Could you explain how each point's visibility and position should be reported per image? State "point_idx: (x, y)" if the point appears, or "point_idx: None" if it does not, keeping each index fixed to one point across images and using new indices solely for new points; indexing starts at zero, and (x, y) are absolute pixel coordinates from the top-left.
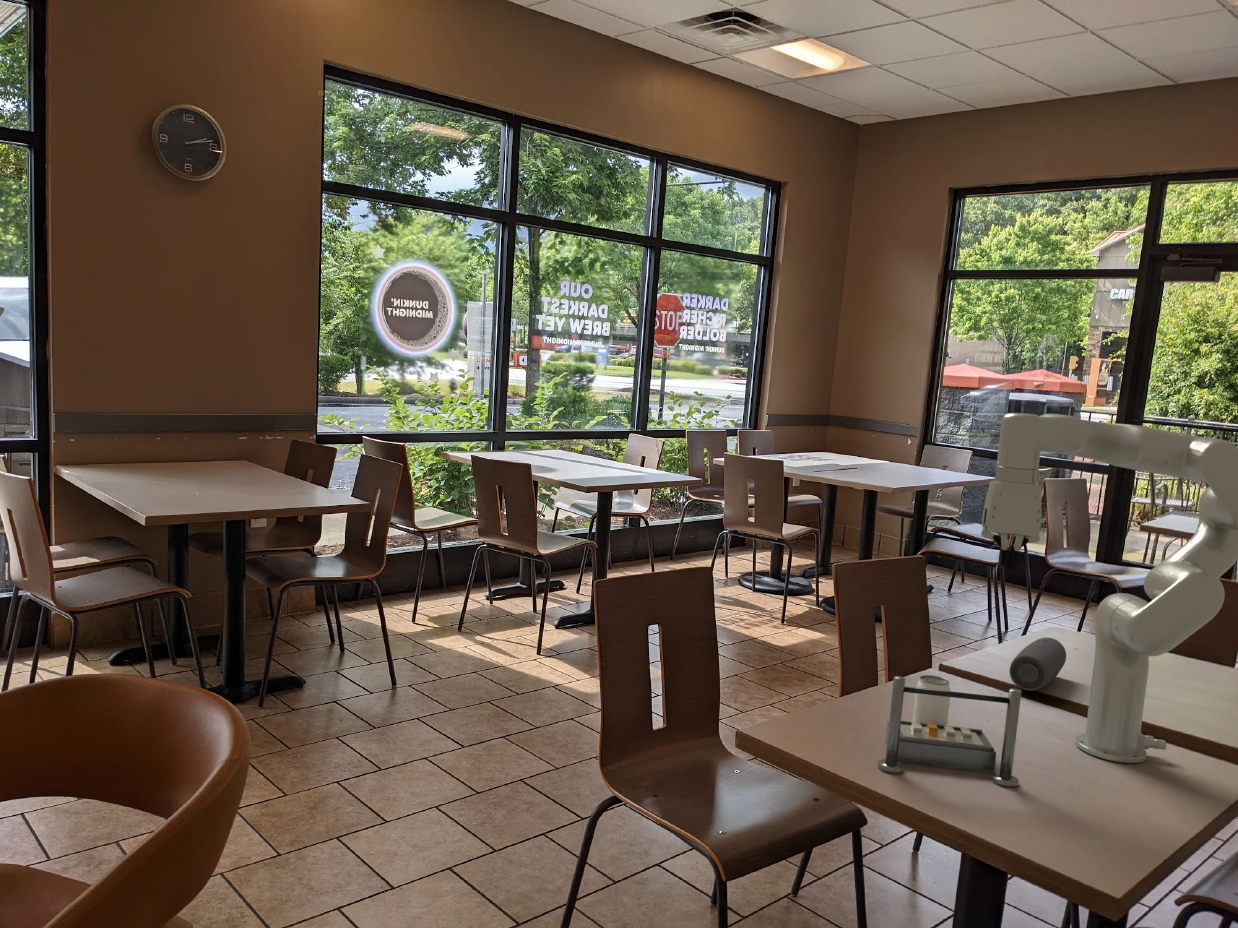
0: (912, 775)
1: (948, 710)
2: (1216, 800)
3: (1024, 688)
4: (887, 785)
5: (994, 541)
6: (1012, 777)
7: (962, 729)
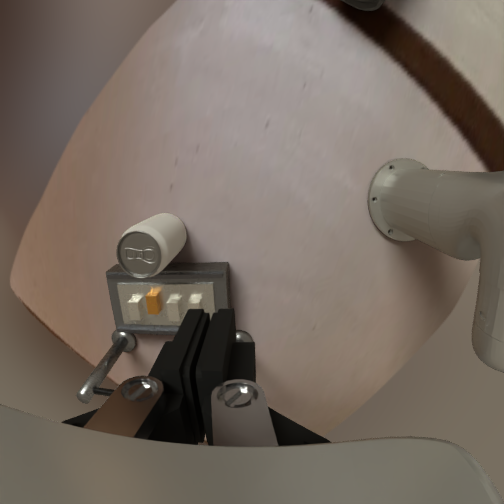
0: (145, 349)
1: (175, 253)
2: (445, 309)
3: (346, 2)
4: (125, 373)
5: (86, 418)
6: (247, 340)
7: (189, 308)
